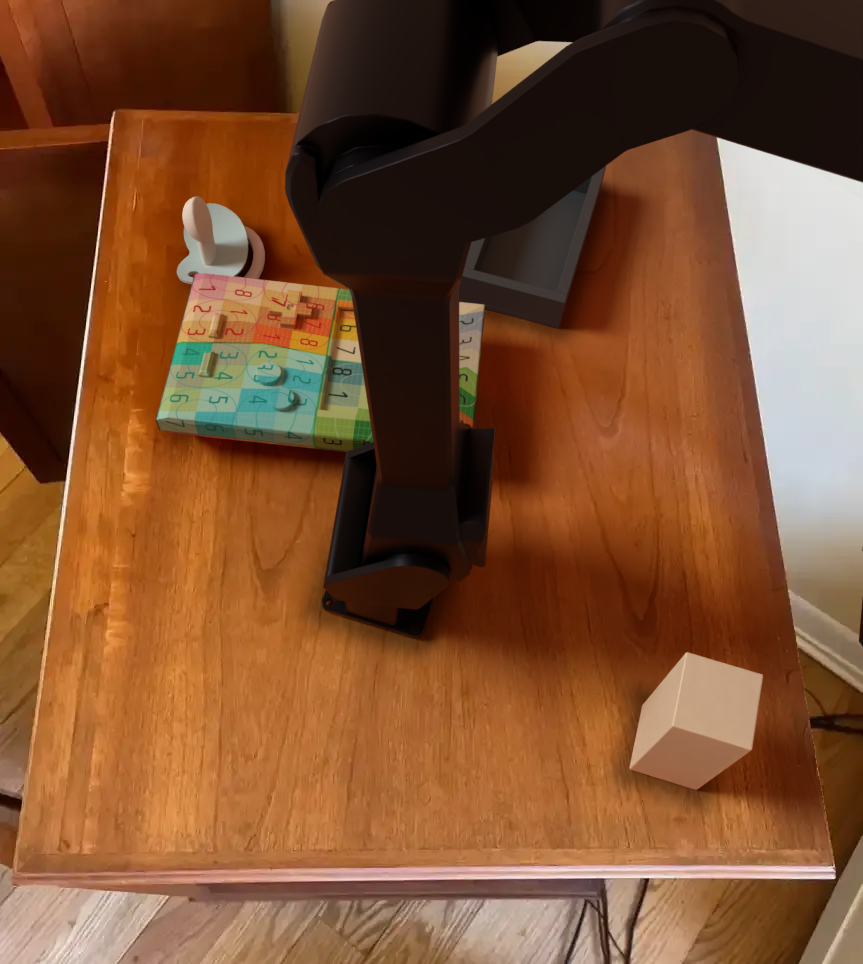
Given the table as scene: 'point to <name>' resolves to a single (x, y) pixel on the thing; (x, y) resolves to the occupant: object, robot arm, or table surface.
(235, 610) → the table surface
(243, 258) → the pacifier
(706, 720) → the block
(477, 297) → the tray
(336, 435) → the puzzle game
